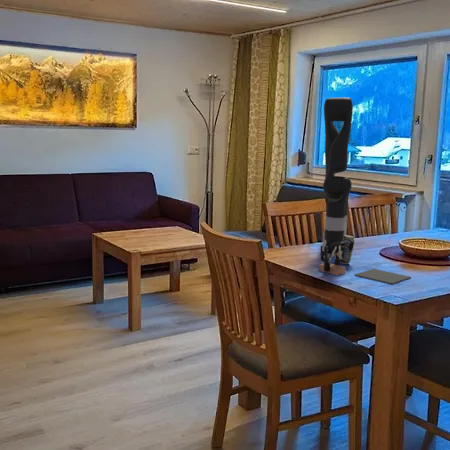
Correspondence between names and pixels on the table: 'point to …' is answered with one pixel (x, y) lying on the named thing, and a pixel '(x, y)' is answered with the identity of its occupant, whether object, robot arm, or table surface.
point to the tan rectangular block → (333, 269)
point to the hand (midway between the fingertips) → (331, 269)
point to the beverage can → (348, 248)
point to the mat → (382, 276)
